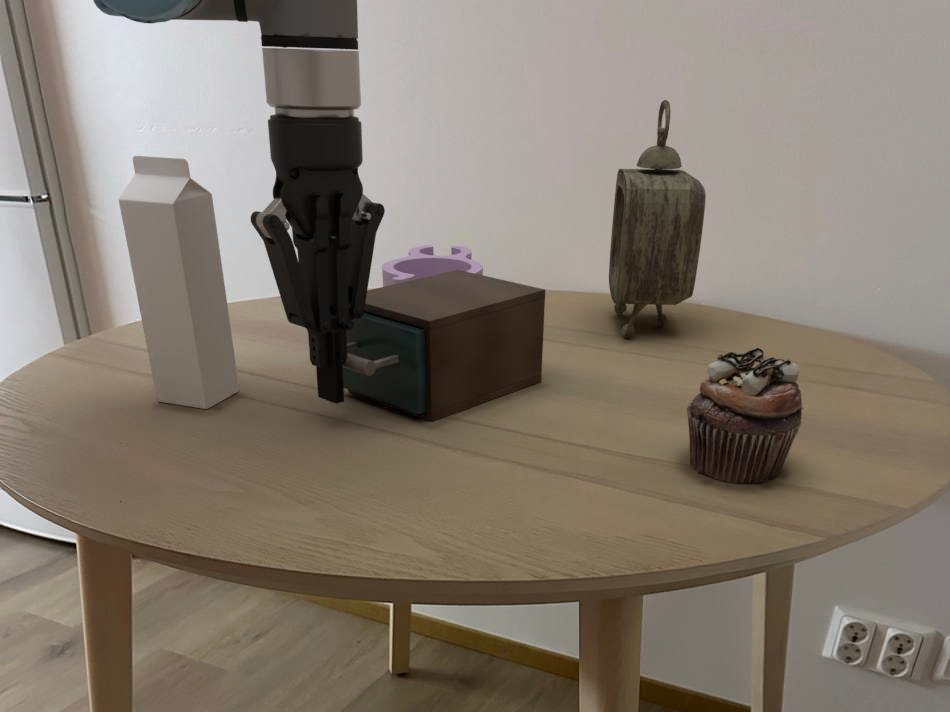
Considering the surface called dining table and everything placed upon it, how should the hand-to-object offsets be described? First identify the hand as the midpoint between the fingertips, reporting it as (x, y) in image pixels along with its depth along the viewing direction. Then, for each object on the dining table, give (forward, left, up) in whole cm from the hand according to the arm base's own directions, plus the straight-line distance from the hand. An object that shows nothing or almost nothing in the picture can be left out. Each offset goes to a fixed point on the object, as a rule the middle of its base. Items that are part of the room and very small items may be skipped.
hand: (331, 399), depth 87 cm
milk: (-16, -5, -3) cm, 17 cm away
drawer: (0, +11, -2) cm, 12 cm away
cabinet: (0, +15, -3) cm, 16 cm away
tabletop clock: (+2, +49, -3) cm, 50 cm away
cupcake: (+33, +18, -3) cm, 38 cm away
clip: (-20, +34, -3) cm, 39 cm away
